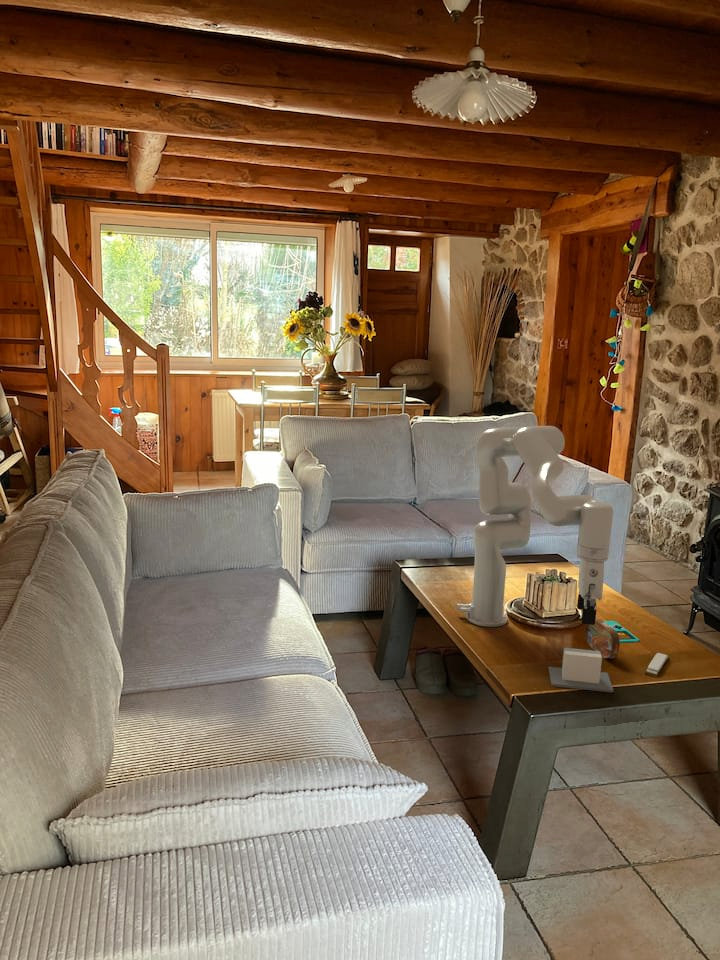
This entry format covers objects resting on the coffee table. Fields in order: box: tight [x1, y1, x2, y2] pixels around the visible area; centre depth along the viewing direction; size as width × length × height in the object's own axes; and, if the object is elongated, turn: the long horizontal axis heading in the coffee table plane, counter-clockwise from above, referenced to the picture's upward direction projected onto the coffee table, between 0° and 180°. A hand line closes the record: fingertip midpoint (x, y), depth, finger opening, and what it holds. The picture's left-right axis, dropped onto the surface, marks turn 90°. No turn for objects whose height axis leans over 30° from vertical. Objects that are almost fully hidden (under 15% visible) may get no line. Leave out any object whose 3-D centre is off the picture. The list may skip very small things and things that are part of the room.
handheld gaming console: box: [603, 620, 640, 644], centre depth 227 cm, size 8×1×15 cm
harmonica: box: [644, 652, 670, 678], centre depth 204 cm, size 15×3×2 cm, turn 147°
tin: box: [585, 618, 621, 659], centre depth 212 cm, size 15×3×8 cm, turn 10°
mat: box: [548, 666, 614, 693], centre depth 194 cm, size 15×10×1 cm, turn 80°
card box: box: [561, 647, 603, 683], centre depth 194 cm, size 4×9×7 cm, turn 80°
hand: (585, 616), depth 191 cm, fingers open, 9 cm apart
